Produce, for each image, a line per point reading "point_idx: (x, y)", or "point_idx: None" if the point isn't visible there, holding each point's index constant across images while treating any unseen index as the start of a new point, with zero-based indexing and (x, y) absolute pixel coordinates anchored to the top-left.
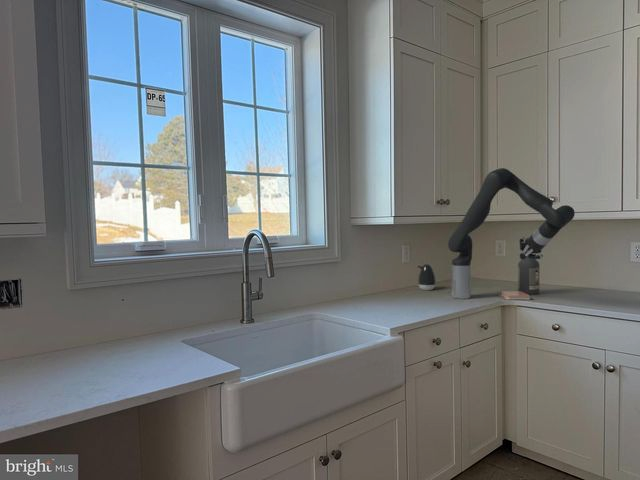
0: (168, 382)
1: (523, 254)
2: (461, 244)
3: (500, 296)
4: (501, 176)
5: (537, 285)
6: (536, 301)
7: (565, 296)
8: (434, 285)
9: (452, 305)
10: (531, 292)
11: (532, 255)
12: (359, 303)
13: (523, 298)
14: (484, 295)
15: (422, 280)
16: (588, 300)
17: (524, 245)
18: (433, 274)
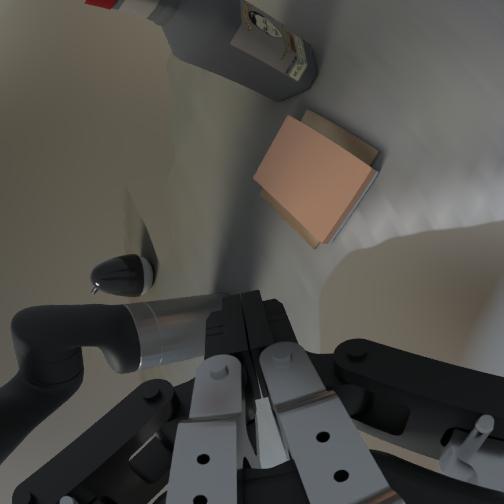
0: None
1: (254, 397)
2: (61, 395)
3: (280, 214)
4: None
5: (295, 42)
6: (414, 177)
7: (388, 10)
8: (145, 269)
9: (273, 443)
10: (309, 79)
11: (367, 386)
12: None
13: (362, 194)
14: (239, 232)
15: (129, 296)
16: (476, 8)
17: (137, 440)
18: (119, 273)
